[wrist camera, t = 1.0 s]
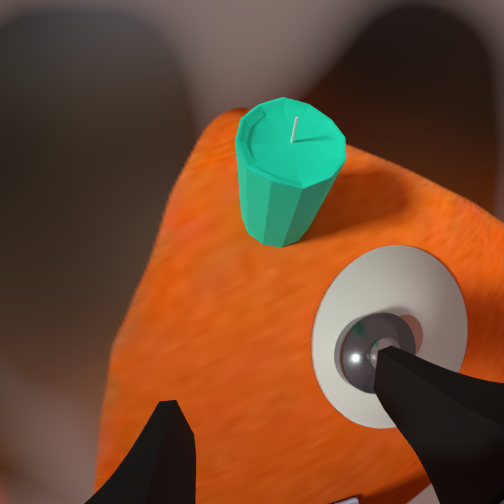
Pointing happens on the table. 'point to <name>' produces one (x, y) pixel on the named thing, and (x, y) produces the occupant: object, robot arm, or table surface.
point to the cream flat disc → (395, 302)
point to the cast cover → (369, 347)
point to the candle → (285, 168)
